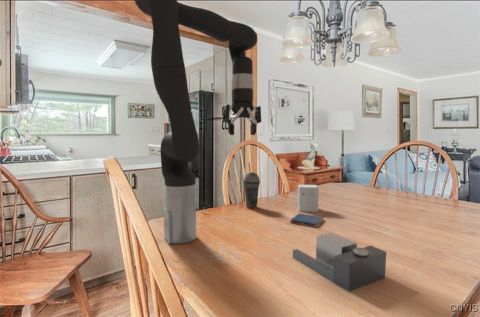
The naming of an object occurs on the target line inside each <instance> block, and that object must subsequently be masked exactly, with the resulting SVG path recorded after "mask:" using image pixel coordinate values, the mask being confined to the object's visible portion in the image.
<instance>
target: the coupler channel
mask: <svg viewBox="0 0 480 317" xmlns="http://www.w3.org/2000/svg"><path fill="white" fill-rule="evenodd" d="M292 258H293V259H295V260H296V261H298V262H300V263H301V264H303V265H304V266H306V267H308V268H309V269H311V270H312V271H314V272H316V273H317V274H319V275H320V276H322V277H324V278H326V279H327V280H329V281H331V282H332V283H333V284H335V285H337V286H339V287H340V288H342V289H343V290H345V291H347V292H351V291H354V290H356V289H359V288H361V287H364V286H366V285H369V284H372V283H375V282H376V281H379V280H382V279H384V278H386V269H387V268H386V266H387V251H385V250H383V249H381V248H377V247H375V246H373V245H368V246H364V247H357V248H354V249H353V251H350V252H347V253H343V254H340V255H337V256H334V269H332V268H330V267H329V266H327V265H325V264H323V263H321V262H320V261H318V260H316V258H314V257H312V256H310V255H309V254H307V253H305V252H303V251H302V250H300V249H298V248H296V249H292Z"/></svg>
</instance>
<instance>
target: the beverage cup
mask: <svg viewBox="0 0 480 317" xmlns="http://www.w3.org/2000/svg"><path fill="white" fill-rule="evenodd" d="M248 171H249V172H247V174H245V176H244V177H243V186H244V196H245V206H246V209H251V210H253V209H254V210H255V209H257V208H258V198H259V187H260V183H261V180H260V177H259V175H258V174H257V173H256V172H251V164H250V162H248Z"/></svg>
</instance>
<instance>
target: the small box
mask: <svg viewBox="0 0 480 317" xmlns="http://www.w3.org/2000/svg"><path fill="white" fill-rule="evenodd" d="M297 209H298V211H299V212H311V213H312V212H313V213H314V212H316V213H317V212H319V186H318V185H317V184H297Z"/></svg>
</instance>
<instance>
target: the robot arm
mask: <svg viewBox="0 0 480 317" xmlns="http://www.w3.org/2000/svg"><path fill="white" fill-rule="evenodd" d="M134 4H135V5H136V7H137V8H138V10H140V11H141V12H142V13H144V14H145V15H146V16H149V17H150V18H151V23H152V41H151V42H152V43H151V51H150V67H151V73H152V78H153V84H154V87H155V90H156V93H157V95H158V97H159V99H160V101H161V103H162V104H163V106H164V108H165V111H166V112H167V115H168V119H169V124H170V130H171V131H170V132H167V133H166V134H165V135H164V136H163V138H161V142H160V163H161V164H160V165H161V174H162V177H163V180H164V199H165V200H164V201H165V204H164V208H163V227H164V228H163V229H164V239H165V241H166V243H167V244H169V245H173V244H175V245H176V244H177V245H179V244H180V245H182V244H189V243H191V242H193V241H195V240H196V239H197V194H196V193H197V192H196V190H197V189H196V187H197V186H196V181H197V180H196V174H195V173H194V172H193V171H192V170H191V167H190V164H189V163H193V162H194V161H195V160H196V159H197V158H198V155H199V153H200V148H201V147H200V140H199V136H198V133H197V132H198V131H197V129H196V123H195V120H194V117H193V112H192V106H191V101H190V100H191V99H190V98H191V97H190V92H189V87H188V79H187V73H186V72H187V71H186V66H185V65H186V64H185V61H184V55H183V54H184V53H183V47H182V41H181V35H180V28H179V27H180V26H183V27H185V28H189V29H191V30H194V31H196V32H198V33H201V34H203V35H205V36H208V37H210V38H212V39H214V40H216V41H219V42H222V43H225V42H228V44H227V45H228V46H227V48H228V52H229V55H230V61H231V63H232V66H231V67H232V76H231V78H232V79H231V104H228V103H227V104H224V105H223V110H222V112H223V113H222V122H223V123H226V124H227V128H228V129H227V132H228V134H229V136H235V124H234V123H235V121H236V120H237V119H240V118H241V119H242V118H243V119H247V120H248V121H249V123H250V135H251V136H255V135H256V134H257V124H259V123H261V122H262V108H261V106H260V105H258V106H257V105H256V106H254V105H253V103H254V78H253V75H254V74H253V65H254V64H253V60H252V59H251V58H250V57H249V56H246V53H245V52H246V51H247V50H250V49H253V48H254V47H255V46H256V45H257V42H258V35H257V32H256V31H255V30H254V29H253V28H252V27H251V26H249V25H247V24H245V23H242V22H238V21H234V20H233V21H232V20H229V19H227V18H226V17H224V16H222V15H221V14H218V13H216V12H214V11H211V10H209V9H206V8H201V7H195V6H191V5H187V4H184V3H182V2H179V1H178V0H134ZM231 110H232V114H230V112H231ZM253 113H254V114H253Z"/></svg>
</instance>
